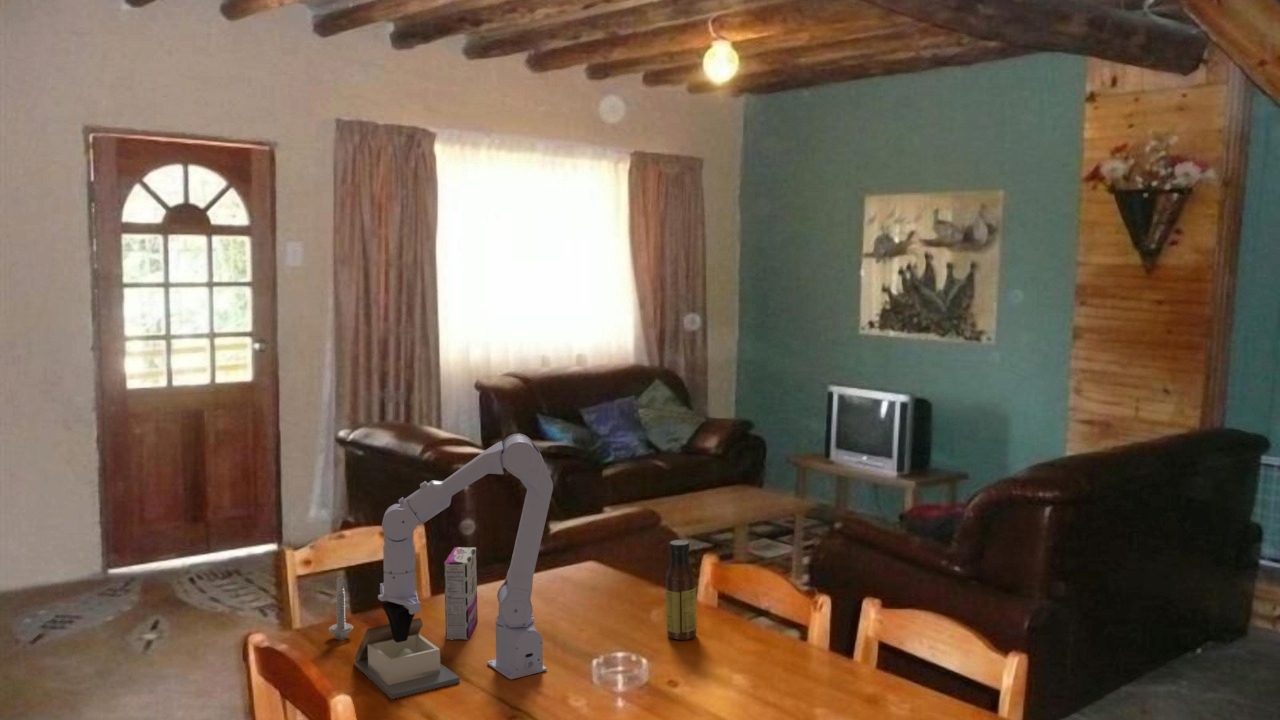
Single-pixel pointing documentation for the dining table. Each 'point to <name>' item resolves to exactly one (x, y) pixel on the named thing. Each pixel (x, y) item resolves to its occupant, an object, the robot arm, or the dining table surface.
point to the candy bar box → (460, 593)
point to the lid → (382, 636)
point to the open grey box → (403, 659)
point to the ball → (404, 652)
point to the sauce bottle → (680, 593)
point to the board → (410, 681)
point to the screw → (340, 614)
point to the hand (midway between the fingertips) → (400, 640)
